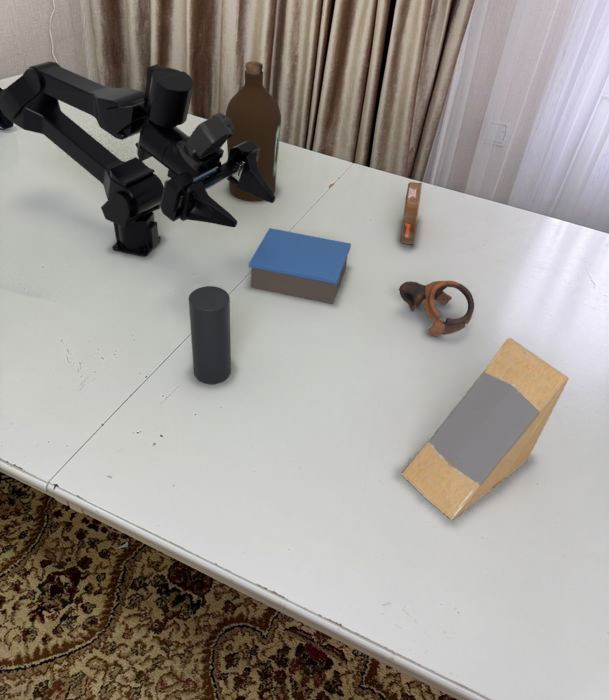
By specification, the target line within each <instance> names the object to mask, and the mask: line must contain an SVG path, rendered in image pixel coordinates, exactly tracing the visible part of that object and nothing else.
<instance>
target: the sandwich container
mask: <svg viewBox="0 0 609 700" xmlns="http://www.w3.org/2000/svg"><path fill="white" fill-rule="evenodd" d="M568 381H569V376H567V375H566V374H565V373H563V372H561V371H560V370H558V369H557V368H555V367H554V366H552V365H551V364H550V363H548V362H547V361H545V359H543V358H541V357H540V356H538V355H537V354H535V353H533V352H532V351H531V350H530V349H528V348H527V347H525V346H524V345H522V344H520V343H519V342H518V341H516V340H514V338H511V337H508V338H507V339H506V340H505V341H504V342H503V344H502V345H501V346H500V348H499V350H498V351H497V352H496V354H495V355H494V356H493V358H492V359H491V360H490V362H489V363H488V364H487V366H486V368H484V370H483V371H482V373H481V374H480V375H479V376H478V378H477V379H476V380H475V382H473V384H472V386H471V387H470V388H469V389H468V390H467V392H466V393H465V394H464V396H463V397H462V398H461V399H460V401H459V402H458V403H457V405H455V407H454V408H453V409H452V411H451V412H450V413H449V415H448V416H447V417H446V418H445V420H444V421H443V422H442V423H441V424H440V426H439V427H438V429H436V431H435V432H434V434H433V435H432V436H431V437H430V438H429V440H428V441H427V442H426V443H425V445H424V446H423V448H421V450H420V451H419V452H418V453H417V455H416V456H415V457H414V459H412V461H411V462H410V463H409V464H408V466H407V467H406V468H405V469H404V471H403V472H402V473H401V476H402V477H403V478H405V480H406V481H408V483H410V484H411V485H412V487H414V488H415V490H417V491H418V492H419V494H421V495H422V496H423V497H424V498H425V499H426V500H427V501H429V502H430V503H431V504H432V505H433V506H434V507H436V508H437V509H438V510H439V511H440V512H442V513H443V514H444V515H445V516H446V517H448V518H449V519H450V520H451V521H453V520H454V519H455V518H457V517H458V516H459V515H461V514H462V513H463V512H465V511H466V510H467V509H469V508H470V507H471V506H473V505H474V504H475V503H477V502H478V501H479V500H481V499H482V498H484V497H486V495H488V494H489V493H490V492H491V491H492V490H494V489H495V488H496V487H497V486H498V485H500V484H501V483H502V482H503V481H504V480H505V479H508V478H509V477H510V476H511V475H512V474H514V473H515V472H516V471H517V469H519V468H520V467H521V466H522V465H523V464H524V463H526V461H527V460H528V459H529V458H530V456H531V454H532V451H533V450H534V448H535V446H536V444H537V442H538V440H539V438H540V437H541V434H542V433H543V431H544V429H545V426H546V424H547V423H548V420H549V419H550V417H551V416H552V412H553V411H554V409H555V407H556V405H557V403H558V401H559V400H560V397H561V395H562V393H563V392H564V390H565V387H566V385H567V383H568Z"/></svg>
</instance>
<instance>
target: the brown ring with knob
mask: <svg viewBox="0 0 609 700" xmlns="http://www.w3.org/2000/svg"><path fill="white" fill-rule="evenodd" d="M447 288H453V289H455V290H458V291H459V292H460V293H461V294H462V295H463V296H464V297H465V299H466V302H467V310H466V312H465V314H464V315H463V316H460V317H458V318H450V317H446V318H445V321H444V320H442V319H440V317H441V312H440V310H439V309H438V308H437V306H436V302H438V303H440V304H442V305H444V306H447V305H448V303H449V302H450V301H451V300H452V299H453V297H452V296H451V295H449V294H448V293H446V292H444V291H445V289H447ZM398 292H399V295H400V298H401V299H402V300H403V301H404V302H405V303H406V304H407V305H408V307H409V310H410V312H414V311H415V308H416V307H419V306H420V305H421V304H422V305H423V307H424V310H425V313H426V315H427V317H428V319H429V320H430V322H431V323H432V326H431V327H430V328H429V329H428V330H427V334H429V335H431V336H432V337H435V338H437V337H441V335H444V336H446V335H450V334H454V333H458V332H459V331H461V330H463V329H464V328H466V325H468V324H469V323H470V322H471V319H472V317H473V313H474V310H475V302H474V301H475V300H474V297H473V295H472V292H471V291H470V290H469V289H468V288H467V287H466V286H465V285H463V284H462V283H459V282H457V281H453V280H436V281H432V282H430V283H427V284H421V283H420V282H417V281H411V280H410V281H404V282H403V283H402V284H400V286H399V288H398Z"/></svg>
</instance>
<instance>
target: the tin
mask: <svg viewBox="0 0 609 700" xmlns="http://www.w3.org/2000/svg"><path fill="white" fill-rule="evenodd" d="M422 186H423V182H414V181H410V182H408V183H407V188H406V194H405V202H404V209H403V217H402V218H403V219H402V230H401V235H400V243H401V244H406V245H407V244H408V245H413V246H414V245H415V242H416V232H417V227H418V226H417V225H418V217H419V209H420V203H421V195H422Z"/></svg>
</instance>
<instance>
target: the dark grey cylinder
mask: <svg viewBox="0 0 609 700" xmlns="http://www.w3.org/2000/svg"><path fill="white" fill-rule="evenodd" d="M188 310H189V311H188V312H189V323H190V324H189V325H190V337H191V339H190V340H191V351H192V367H193V375H194V377H195V379H196V380H197V381H199V382H200V383H203V384H206V385H217V384H221V383H223V382H224V381H226V380H228V379H229V377H230V376H231V374H232V354H231V353H232V352H231V351H232V350H231V297H230V295H229V293H228V291H226V290H225V289H224V288H222V287H218V286H213V285H207V286H201V287H198V288H196V289H194V290H192V291H191V292H190V294H189V296H188Z"/></svg>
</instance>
